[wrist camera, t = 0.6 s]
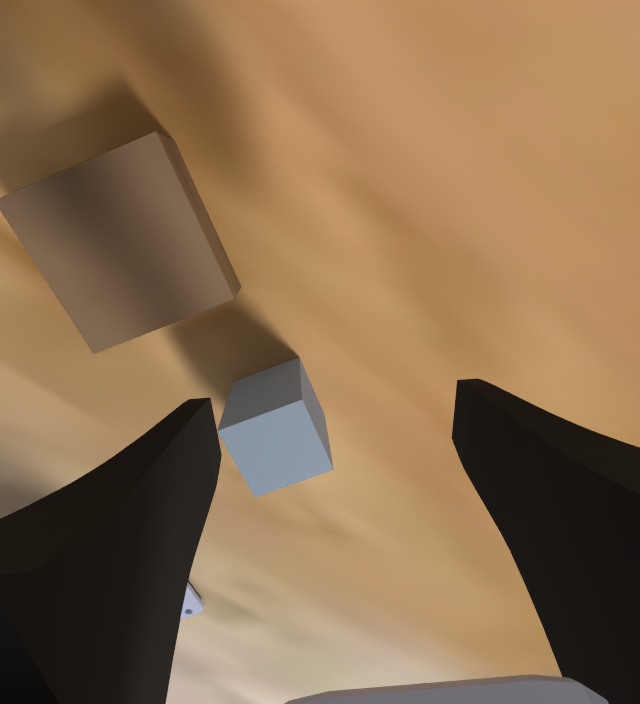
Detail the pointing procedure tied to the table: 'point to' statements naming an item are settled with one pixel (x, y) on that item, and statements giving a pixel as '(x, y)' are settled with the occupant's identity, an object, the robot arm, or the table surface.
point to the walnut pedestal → (124, 241)
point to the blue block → (276, 428)
